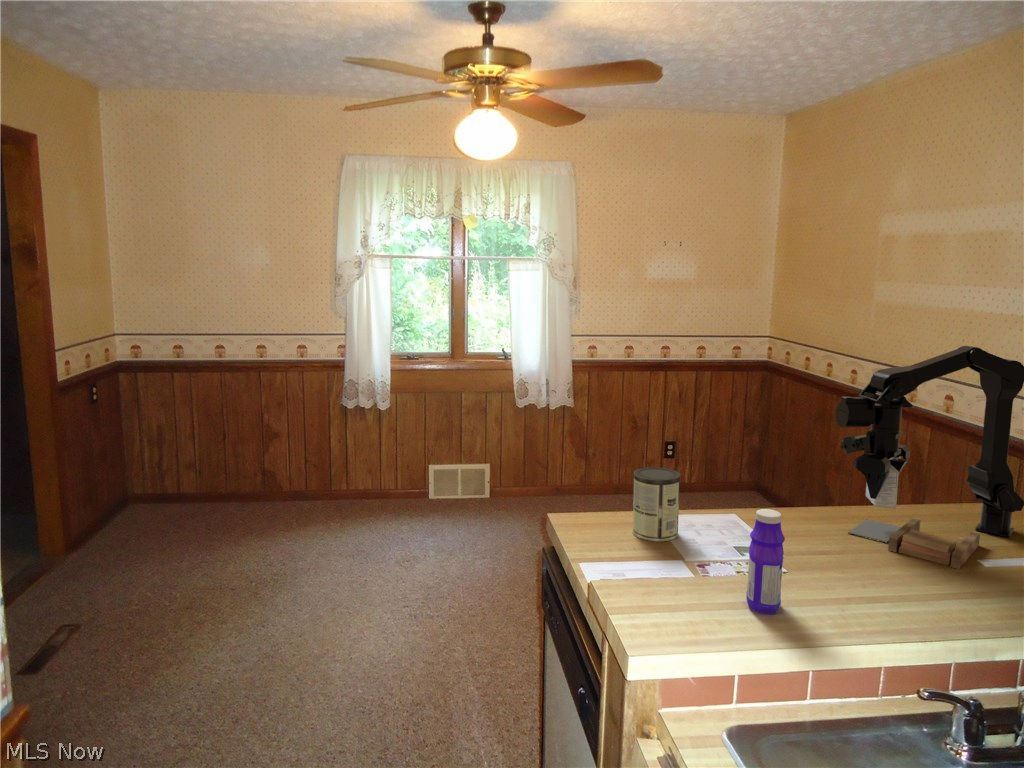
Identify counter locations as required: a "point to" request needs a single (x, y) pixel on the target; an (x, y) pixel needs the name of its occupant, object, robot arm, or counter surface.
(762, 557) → the bottle
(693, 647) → the counter surface
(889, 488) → the medicine box
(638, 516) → the coffee can
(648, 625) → the counter surface
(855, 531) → the mat
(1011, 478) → the robot arm
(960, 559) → the rack
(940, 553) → the offcut stack
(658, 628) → the counter surface
